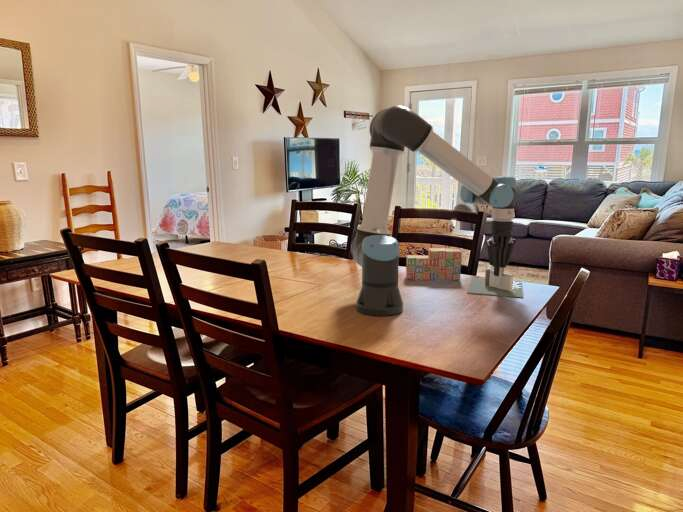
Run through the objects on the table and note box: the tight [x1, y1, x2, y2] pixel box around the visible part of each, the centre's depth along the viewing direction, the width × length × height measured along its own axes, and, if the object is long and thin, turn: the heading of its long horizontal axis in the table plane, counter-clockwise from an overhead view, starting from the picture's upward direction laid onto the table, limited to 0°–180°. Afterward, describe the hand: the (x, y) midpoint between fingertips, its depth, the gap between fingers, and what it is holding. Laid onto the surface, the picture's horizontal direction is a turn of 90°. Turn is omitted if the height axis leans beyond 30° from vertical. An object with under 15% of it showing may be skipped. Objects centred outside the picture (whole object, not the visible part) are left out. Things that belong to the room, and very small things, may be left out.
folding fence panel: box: [484, 268, 514, 291], centre depth 177 cm, size 11×2×6 cm, turn 35°
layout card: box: [466, 277, 524, 299], centre depth 180 cm, size 23×19×1 cm
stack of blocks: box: [405, 247, 462, 281], centre depth 194 cm, size 21×6×12 cm, turn 87°
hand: (497, 284), depth 175 cm, fingers closed
